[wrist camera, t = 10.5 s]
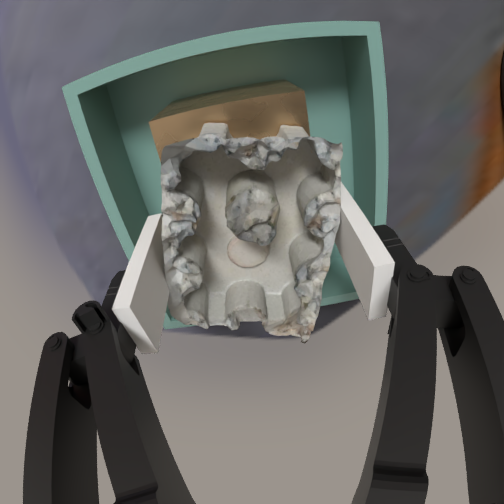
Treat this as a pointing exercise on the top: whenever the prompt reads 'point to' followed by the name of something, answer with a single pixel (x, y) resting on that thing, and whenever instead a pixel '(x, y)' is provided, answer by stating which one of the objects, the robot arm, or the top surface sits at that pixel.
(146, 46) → the top surface
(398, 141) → the top surface
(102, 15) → the top surface
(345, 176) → the tote
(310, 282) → the egg carton
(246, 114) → the tan cardboard block
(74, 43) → the top surface
